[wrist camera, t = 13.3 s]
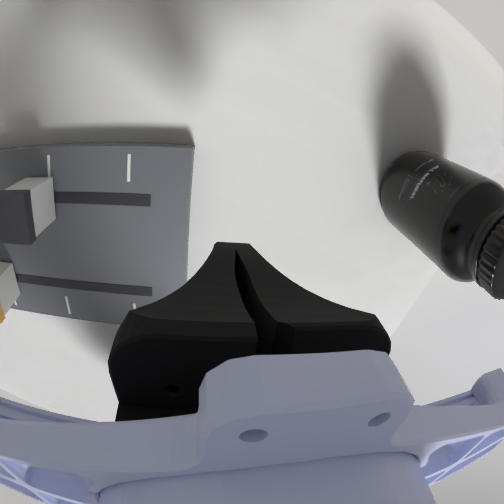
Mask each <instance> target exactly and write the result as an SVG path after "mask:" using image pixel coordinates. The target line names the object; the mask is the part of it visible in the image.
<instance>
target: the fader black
mask: <svg viewBox="0 0 504 504" xmlns="http://www.w3.org/2000/svg"><path fill="white" fill-rule="evenodd" d="M55 219H56V214H55V204H54V191H53V177H35V178H25V179H23V180H21V181H19V182H17V183H15V184H14V185H12V186H10V187H8V188H7V189H5V190H0V241H1V243H7V244H19V245H32V244H33V243H34V242H35V241H36V237H37V236H38V235H39V234H40V233H41V232H42V231H43V230H44V229H45V228H46V227H47V226H49V225H50V224H51V223H52V222H53V221H54V220H55Z"/></svg>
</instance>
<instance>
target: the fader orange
mask: <svg viewBox="0 0 504 504" xmlns="http://www.w3.org/2000/svg"><path fill="white" fill-rule="evenodd" d="M19 295H20V290H19V287H18V283H17V280H16V276H15V272H14V268H13V264H12V263H6V262H0V324H1V323H2V322H3V320H4V319H5V314H6V313H7V312H8V310H9V309H10V307H11V306H12V305H13V303H14V302H15V301H16V299H17V298H18V297H19Z"/></svg>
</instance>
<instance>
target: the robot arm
mask: <svg viewBox="0 0 504 504" xmlns="http://www.w3.org/2000/svg"><path fill="white" fill-rule="evenodd" d="M390 351H391V341H390V338H389V336H388V334H387V332H386V331H385V329H384V327H383V326H382V324H381V323H380V321H379V320H378V318H377V317H376V315H374V314H371V313H367V312H363V311H359V310H355V309H351V308H348V307H345V306H342V305H339V304H336V303H334V302H331V301H329V300H326V299H324V298H322V297H320V296H318V295H316V294H314V293H311V292H310V291H308V290H306V289H304V288H302V287H301V286H299V285H298V284H296V283H294V282H293V281H291V280H290V279H288V278H287V277H286V276H284V275H283V274H282V273H280V272H279V271H278V270H277V269H275V268H274V267H273V266H272V265H271V264H270V263H269V262H267V261H266V260H265V259H264V258H263V257H262V256H261V255H260V254H259V253H258V252H257V251H256V250H255V249H254V248H253V247H252V246H251V245H250V244H246V243H227V242H217V243H215V244H214V248H213V250H212V252H211V254H210V255H209V257H208V258H207V260H206V261H205V263H204V264H203V265H202V267H201V268H200V269H199V270H198V271H197V273H196V274H195V275H194V276H193V277H192V278H191V279H190V280H189V281H188V282H186V283H185V284H184V285H183V286H182V287H180V288H179V289H177V290H176V291H174V292H173V293H171V294H169V295H168V296H166V297H164V298H162V299H160V300H158V301H155V302H153V303H151V304H148V305H145V306H142V307H139V308H136V309H133V310H130V311H129V312H128V313H127V315H126V317H125V319H124V320H123V322H122V324H121V326H120V328H119V330H118V332H117V334H116V336H115V339H114V342H113V345H112V349H111V352H110V356H109V359H108V368H109V373H110V377H111V380H112V383H113V386H114V389H115V392H116V395H117V398H118V401H119V404H118V409H117V414H116V419H115V422H96V421H90V420H85V419H80V418H75V417H70V416H66V415H62V414H57V413H53V412H49V411H45V410H41V409H37V408H34V407H30V406H27V405H23V404H20V403H17V402H14V401H11V400H8V399H5V398H2V397H0V483H1V484H3V485H6V486H7V487H9V488H11V489H13V490H16V491H18V492H20V493H22V494H24V495H26V496H29V497H31V498H33V499H36V500H38V501H40V502H43V503H45V504H436V503H435V500H434V498H433V495H432V493H431V491H430V488H429V486H431V485H433V484H435V483H437V482H438V481H440V480H442V479H444V478H446V477H448V476H450V475H452V474H453V473H455V472H457V471H459V470H460V469H462V468H464V467H465V466H467V465H469V464H471V463H472V462H474V461H476V460H477V459H479V458H481V457H482V456H484V455H486V454H487V453H489V452H491V451H492V450H493V449H495V448H496V447H497V446H498V445H499V444H500V443H501V442H502V441H503V440H504V372H503V371H502V369H496V370H494V371H491V372H488V373H485V374H484V375H482V376H481V377H480V378H479V379H478V380H477V381H476V382H475V384H474V385H473V387H472V389H471V390H470V391H467V392H464V393H461V394H459V395H456V396H453V397H450V398H446V399H443V400H440V401H437V402H433V403H430V404H427V405H423V406H418V405H416V406H415V405H413V403H414V401H415V400H414V398H413V396H412V394H411V392H410V390H409V389H408V387H407V385H406V383H405V382H404V380H403V378H402V377H401V375H400V373H399V371H398V369H397V368H396V366H395V364H394V362H393V361H392V360H391V358H390V357H389V353H390Z"/></svg>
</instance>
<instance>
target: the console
mask: <svg viewBox="0 0 504 504" xmlns="http://www.w3.org/2000/svg"><path fill="white" fill-rule="evenodd" d="M194 149H195V145H180V144H158V143H73V144H52V145H37V146H25V147H14V148H4V149H0V190H5V189H7V188H8V187H10V186H12V185H14V184H15V183H17V182H19V181H21V180H23V179H25V178H35V177H53V191H54V204H55V214H56V219H55V220H54V221H53V222H52V223H51V224H50V225H49V226H47V227H46V228H45V229H44V230H43V231H42V232H41V233H40V234H39V235H38V236H37V237H36V241H35V242H34V243H33V244H32V245H19V244H7V243H1V241H0V262H6V263H12V264H13V268H14V272H15V276H16V280H17V283H18V287H19V290H20V295H19V297H18V298H17V299H16V301H15V302H14V303H13V305H12V306H11V307H10V308H13V309H18V310H24V311H29V312H35V313H41V314H47V315H54V316H60V317H67V318H74V319H81V320H89V321H97V322H105V323H114V324H122V322H123V320H124V319H125V317H126V315H127V313H128V312H129V311H130V310H133V309H136V308H139V307H142V306H145V305H148V304H151V303H153V302H155V301H158V300H160V299H162V298H164V297H166V296H168V295H169V294H171V293H173V292H174V291H176V290H177V289H179V288H180V287H182V286H183V285H184V284H185V283H186V282H187V261H188V236H189V217H190V201H191V186H192V173H193V160H194Z"/></svg>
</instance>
